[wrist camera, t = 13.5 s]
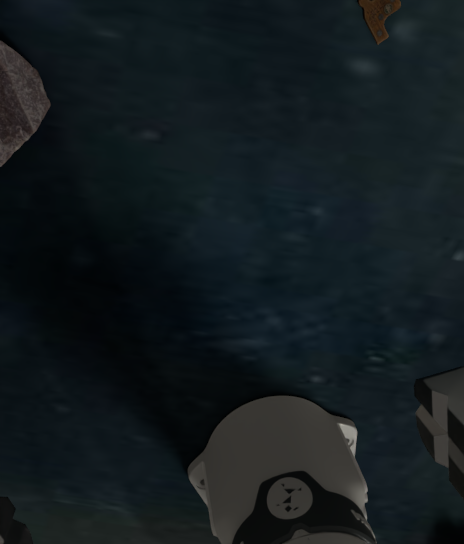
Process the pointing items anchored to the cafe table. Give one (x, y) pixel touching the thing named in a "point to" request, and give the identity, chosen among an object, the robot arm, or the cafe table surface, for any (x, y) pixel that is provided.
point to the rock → (18, 101)
